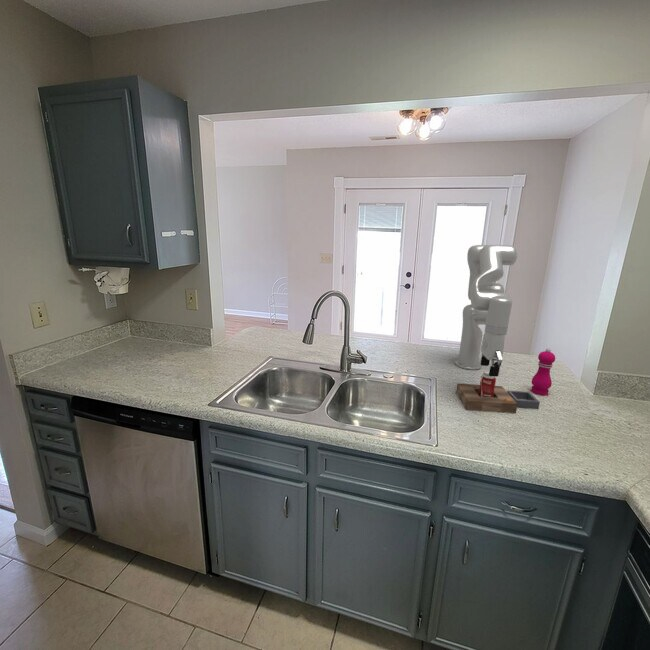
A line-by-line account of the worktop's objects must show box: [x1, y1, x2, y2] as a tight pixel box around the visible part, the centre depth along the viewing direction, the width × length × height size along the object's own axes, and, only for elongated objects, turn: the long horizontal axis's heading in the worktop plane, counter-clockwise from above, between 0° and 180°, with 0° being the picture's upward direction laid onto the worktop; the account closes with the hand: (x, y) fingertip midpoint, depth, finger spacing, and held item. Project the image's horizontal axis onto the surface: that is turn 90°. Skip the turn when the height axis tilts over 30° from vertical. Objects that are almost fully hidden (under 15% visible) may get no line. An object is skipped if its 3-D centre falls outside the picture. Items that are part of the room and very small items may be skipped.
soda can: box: [479, 372, 497, 397], centre depth 134 cm, size 5×5×12 cm
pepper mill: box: [530, 348, 556, 396], centre depth 142 cm, size 7×7×20 cm
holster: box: [506, 390, 541, 410], centre depth 135 cm, size 9×9×3 cm
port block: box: [455, 382, 518, 414], centre depth 135 cm, size 15×18×4 cm
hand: (488, 370), depth 133 cm, fingers open, 9 cm apart
